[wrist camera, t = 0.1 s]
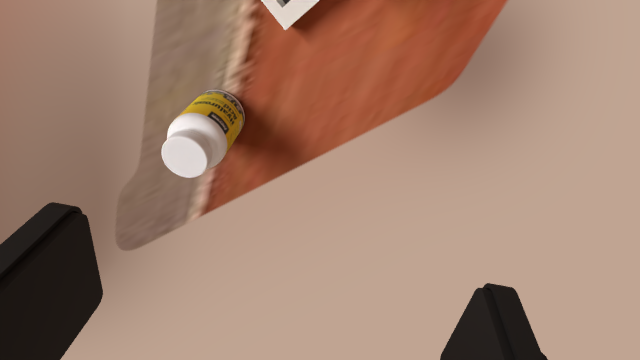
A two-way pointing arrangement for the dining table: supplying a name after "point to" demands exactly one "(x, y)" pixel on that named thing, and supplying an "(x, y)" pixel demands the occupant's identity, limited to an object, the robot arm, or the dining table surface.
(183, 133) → the supplement bottle
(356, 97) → the dining table surface
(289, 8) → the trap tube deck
